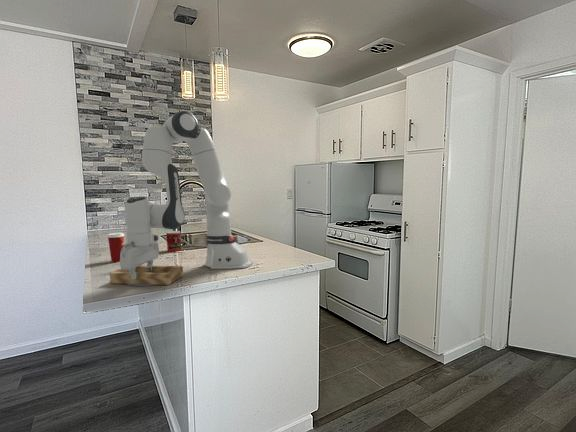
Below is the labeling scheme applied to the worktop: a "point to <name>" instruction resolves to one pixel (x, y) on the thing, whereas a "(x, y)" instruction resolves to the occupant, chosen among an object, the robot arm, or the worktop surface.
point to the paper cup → (115, 245)
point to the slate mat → (141, 284)
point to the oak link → (148, 275)
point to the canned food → (173, 241)
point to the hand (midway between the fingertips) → (142, 275)
